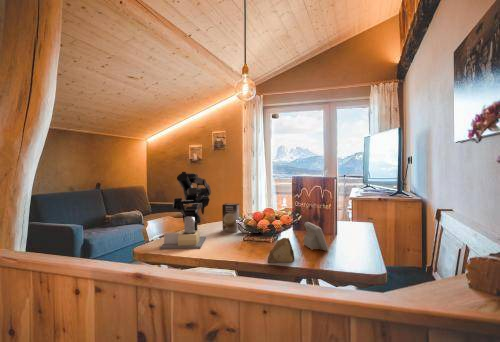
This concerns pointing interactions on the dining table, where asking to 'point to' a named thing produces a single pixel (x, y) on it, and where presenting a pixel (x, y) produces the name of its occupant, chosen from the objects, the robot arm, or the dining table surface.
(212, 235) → the dining table surface
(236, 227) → the coffee box
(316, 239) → the grey angular slab
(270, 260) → the rock
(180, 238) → the grey plate with frame
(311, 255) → the dining table surface
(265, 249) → the dining table surface
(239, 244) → the dining table surface
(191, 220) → the hinge pin
